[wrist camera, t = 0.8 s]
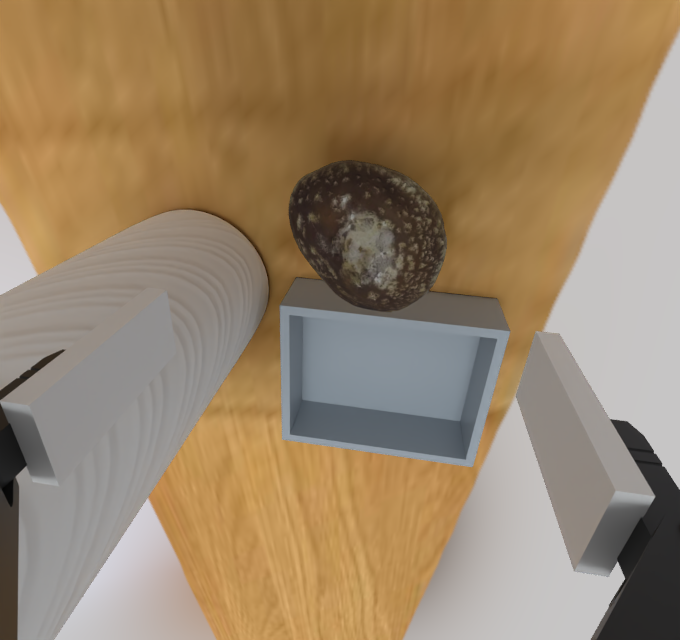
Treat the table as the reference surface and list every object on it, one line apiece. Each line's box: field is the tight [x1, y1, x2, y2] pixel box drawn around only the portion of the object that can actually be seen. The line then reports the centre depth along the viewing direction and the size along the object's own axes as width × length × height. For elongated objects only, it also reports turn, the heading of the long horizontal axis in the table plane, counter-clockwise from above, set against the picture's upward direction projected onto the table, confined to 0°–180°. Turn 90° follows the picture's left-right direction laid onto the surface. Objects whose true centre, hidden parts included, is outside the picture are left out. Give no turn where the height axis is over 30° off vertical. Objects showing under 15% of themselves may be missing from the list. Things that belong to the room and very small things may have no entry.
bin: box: [280, 277, 510, 467], centre depth 41 cm, size 15×19×6 cm
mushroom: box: [289, 160, 447, 312], centre depth 30 cm, size 9×9×15 cm
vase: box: [0, 210, 269, 640], centre depth 29 cm, size 14×14×32 cm
